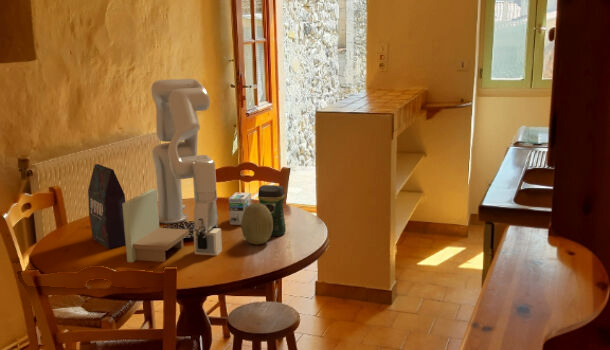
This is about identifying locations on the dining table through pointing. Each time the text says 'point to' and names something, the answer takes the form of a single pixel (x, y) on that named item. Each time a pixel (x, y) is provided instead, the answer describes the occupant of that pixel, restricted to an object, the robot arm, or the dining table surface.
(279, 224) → the coffee jar
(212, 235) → the cabinet block
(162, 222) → the robot arm
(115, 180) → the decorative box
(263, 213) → the fruit
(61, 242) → the dining table surface
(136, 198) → the pale l-shaped piece
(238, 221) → the light bulb box
